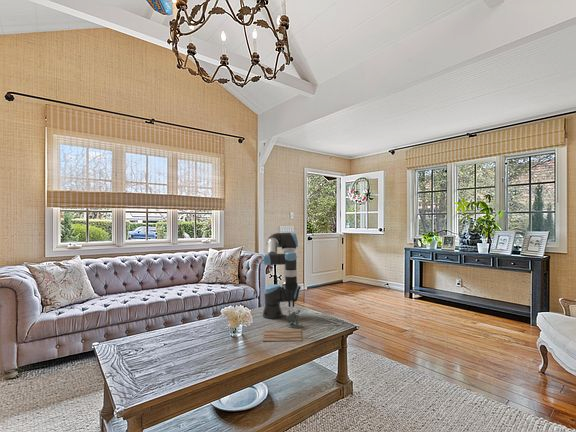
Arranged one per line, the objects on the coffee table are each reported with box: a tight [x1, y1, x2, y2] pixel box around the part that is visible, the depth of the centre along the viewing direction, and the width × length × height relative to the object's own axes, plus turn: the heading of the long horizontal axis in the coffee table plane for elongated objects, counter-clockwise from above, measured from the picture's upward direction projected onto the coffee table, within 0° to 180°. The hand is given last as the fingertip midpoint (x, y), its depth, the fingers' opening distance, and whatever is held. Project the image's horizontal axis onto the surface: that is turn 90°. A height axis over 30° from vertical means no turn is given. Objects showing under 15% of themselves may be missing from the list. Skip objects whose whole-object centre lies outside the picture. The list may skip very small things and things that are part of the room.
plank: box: [263, 328, 302, 337], centre depth 203 cm, size 9×24×1 cm, turn 91°
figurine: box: [285, 309, 303, 329], centre depth 216 cm, size 11×11×12 cm
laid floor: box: [262, 334, 303, 343], centre depth 194 cm, size 9×24×1 cm, turn 91°
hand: (291, 311), depth 204 cm, fingers closed
